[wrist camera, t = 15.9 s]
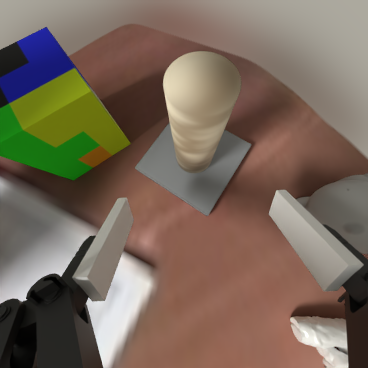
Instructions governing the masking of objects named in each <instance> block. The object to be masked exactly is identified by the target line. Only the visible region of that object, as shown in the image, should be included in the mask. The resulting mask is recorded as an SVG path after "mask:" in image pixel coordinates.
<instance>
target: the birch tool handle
mask: <svg viewBox="0 0 368 368" xmlns="http://www.w3.org/2000/svg"><path fill="white" fill-rule="evenodd" d="M163 87H164V93H165V99H166V104H167V110H168V115H169V120H170V126H171V131H172V137H173V142H174V148H175V153H176V159H177V162H178V165H179V166H180V167H181V168H182V169H183V170H184V171H186V172H188V173H200V172H202V171H204V170H205V169H207V168H208V166H209V165H210V163H211V161H212V158H213V156H214V153H215V151H216V149H217V146H218V144H219V141H220V139H221V136H222V134H223V132H224V129H225V127H226V124H227V122H228V120H229V117H230V115H231V112H232V110H233V108H234V105H235V103H236V100H237V98H238V95H239V93H240V90H241V77H240V74H239V72H238V70H237V68H236V67H235V65H234V64H233V63H232V62H231V61H230V60H228V59H227V58H225V57H223V56H222V55H219V54H216V53H213V52H206V51H198V52H192V53H188V54H185V55H183V56H181V57H179V58H177V59H176V60H175V61H174V62H172V64H171V65H170V66H169V67H168V69H167V70H166V72H165V75H164V79H163Z"/></svg>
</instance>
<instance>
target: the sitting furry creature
mask: <svg viewBox="0 0 368 368" xmlns="http://www.w3.org/2000/svg"><path fill="white" fill-rule="evenodd" d="M290 321H291V322H292V323H291V324H290V325H291V327H292V330H293V333H294V335H295V336H296V338H297V339H298V340H299V341H300V342H302V343H304V344H306V345H311V346H313V347H316V348H317V351H318V352H319V353H320V354H321V355H322V356H324V359H323V363H324V365H326V366H324V367H325V368H348V350H347V332H346V320H345V319H342V318H341V319H338V318H335V319H332V318H321V317H318V316H316V317H315V316H313V317H309V316H306V317H299V316H295V317H291V318H290ZM334 347H338V348H339V350H340V351H339V350H337V349H336V348H334Z"/></svg>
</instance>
